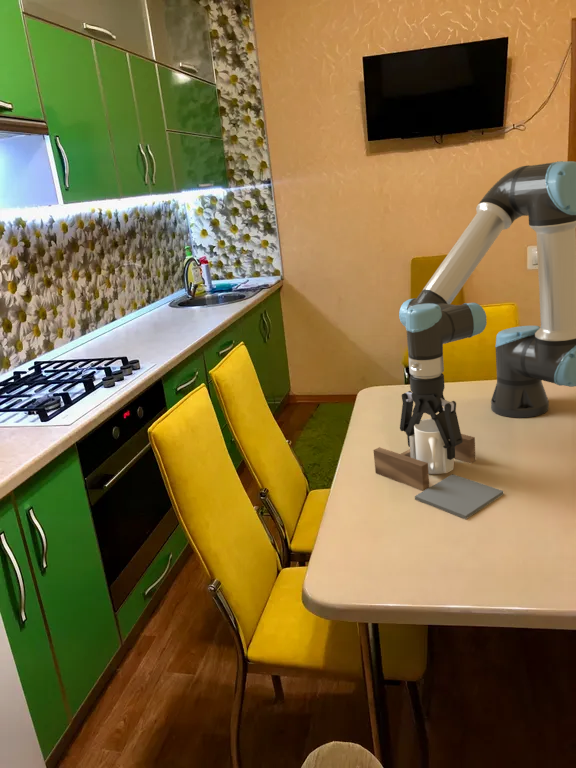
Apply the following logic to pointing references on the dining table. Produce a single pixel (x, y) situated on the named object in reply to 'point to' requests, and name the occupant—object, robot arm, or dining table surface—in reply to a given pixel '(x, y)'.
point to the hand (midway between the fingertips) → (431, 465)
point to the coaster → (459, 496)
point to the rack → (416, 464)
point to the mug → (429, 445)
